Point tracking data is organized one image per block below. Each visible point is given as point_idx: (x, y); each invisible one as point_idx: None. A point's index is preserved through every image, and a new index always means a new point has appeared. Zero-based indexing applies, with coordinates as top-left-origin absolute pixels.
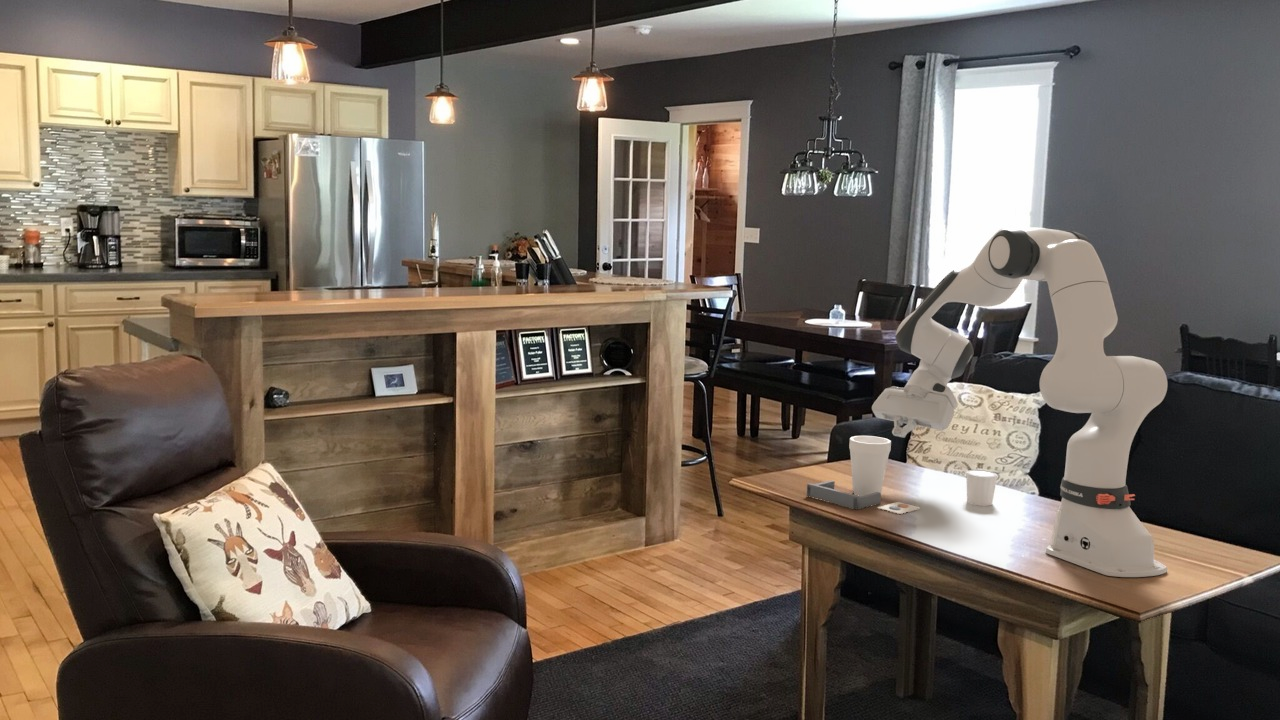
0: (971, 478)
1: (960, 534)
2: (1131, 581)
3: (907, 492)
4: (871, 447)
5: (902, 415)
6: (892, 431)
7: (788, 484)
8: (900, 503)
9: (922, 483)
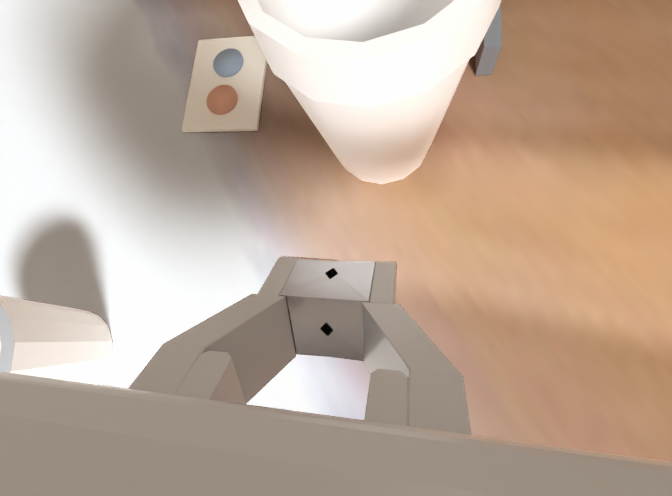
0: (3, 297)
1: (42, 33)
2: None
3: None
4: None
5: (309, 415)
6: (390, 263)
7: (654, 19)
8: (241, 119)
9: None
